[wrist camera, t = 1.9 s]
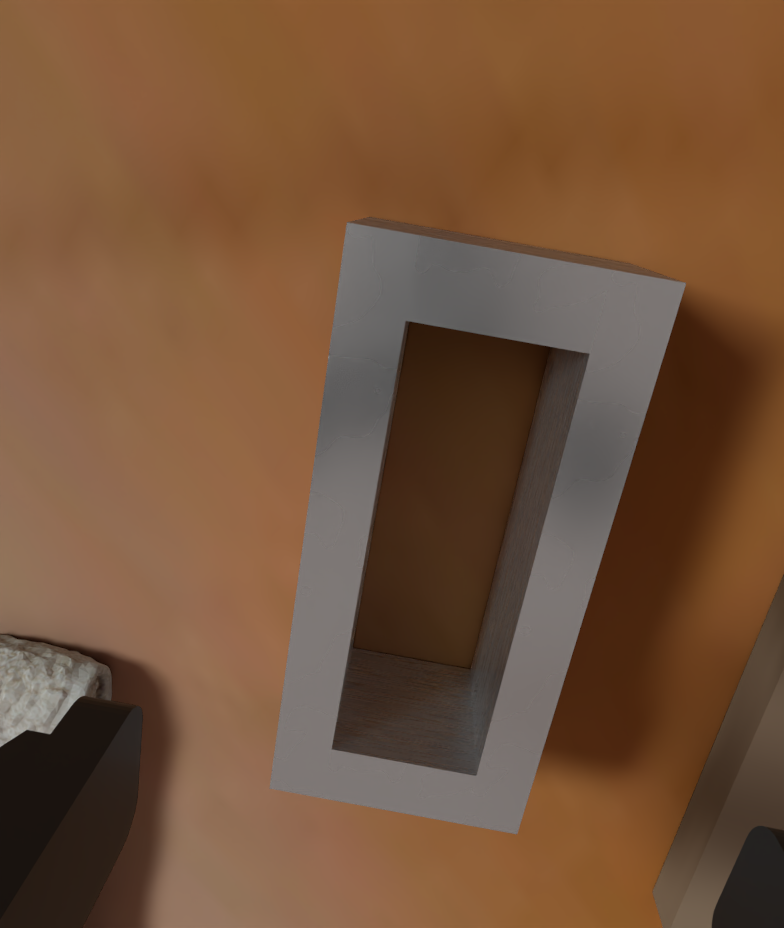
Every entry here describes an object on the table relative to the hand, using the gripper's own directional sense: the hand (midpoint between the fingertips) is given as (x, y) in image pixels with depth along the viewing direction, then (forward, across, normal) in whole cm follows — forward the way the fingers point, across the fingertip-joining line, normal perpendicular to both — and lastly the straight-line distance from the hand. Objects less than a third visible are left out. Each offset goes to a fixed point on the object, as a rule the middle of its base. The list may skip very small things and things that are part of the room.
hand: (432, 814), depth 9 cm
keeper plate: (+10, -17, +2) cm, 20 cm away
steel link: (+10, 0, 0) cm, 10 cm away
